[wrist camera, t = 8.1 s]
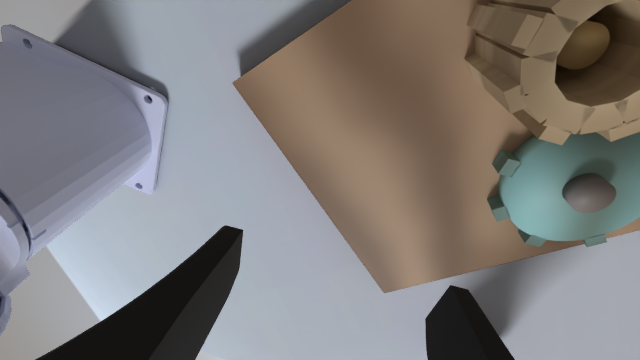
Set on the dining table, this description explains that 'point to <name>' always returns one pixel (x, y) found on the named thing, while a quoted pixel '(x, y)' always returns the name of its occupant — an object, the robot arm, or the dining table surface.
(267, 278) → the dining table surface
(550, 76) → the wooden gear
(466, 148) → the gear board
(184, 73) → the dining table surface
